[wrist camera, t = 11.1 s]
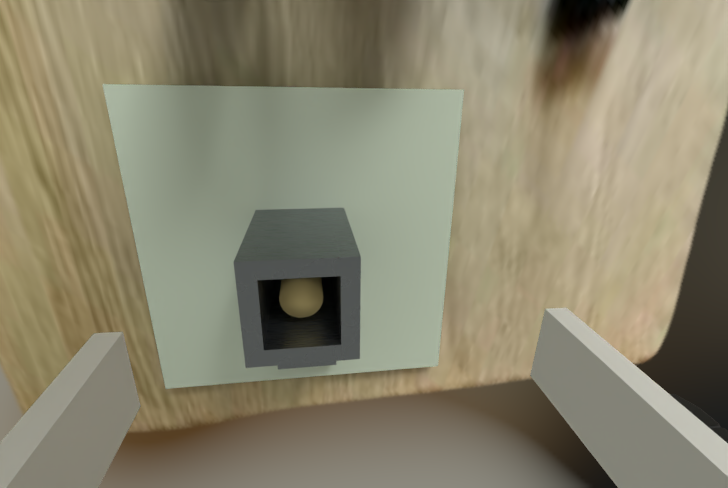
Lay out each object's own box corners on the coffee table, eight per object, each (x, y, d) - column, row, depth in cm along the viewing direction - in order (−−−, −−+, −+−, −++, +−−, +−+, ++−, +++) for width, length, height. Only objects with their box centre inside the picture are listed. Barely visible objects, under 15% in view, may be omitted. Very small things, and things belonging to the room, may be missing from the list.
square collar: (255, 209, 27) (233, 262, 18) (343, 207, 27) (360, 256, 19) (268, 357, 31) (255, 454, 23) (344, 351, 32) (359, 442, 23)
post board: (114, 84, 24) (21, 79, 16) (455, 89, 27) (517, 87, 19) (171, 376, 32) (128, 467, 24) (432, 355, 35) (469, 430, 27)
